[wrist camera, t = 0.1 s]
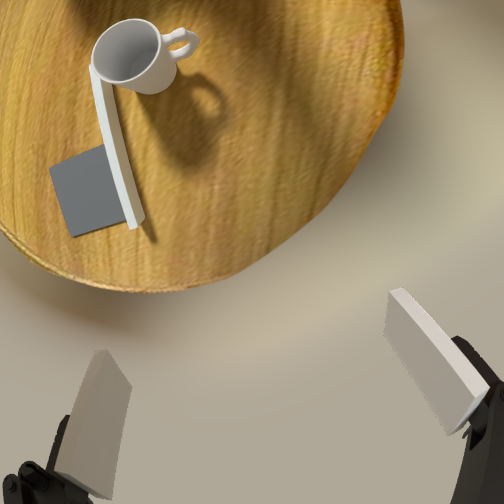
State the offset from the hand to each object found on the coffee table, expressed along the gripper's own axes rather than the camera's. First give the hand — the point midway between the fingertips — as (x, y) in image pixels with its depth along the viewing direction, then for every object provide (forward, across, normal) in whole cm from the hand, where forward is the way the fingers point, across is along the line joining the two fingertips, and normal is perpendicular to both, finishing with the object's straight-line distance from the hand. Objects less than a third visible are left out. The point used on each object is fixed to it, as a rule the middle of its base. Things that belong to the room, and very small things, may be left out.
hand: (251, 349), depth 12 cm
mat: (+28, -19, +6) cm, 34 cm away
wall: (+28, -12, +11) cm, 32 cm away
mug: (+28, -4, +19) cm, 34 cm away
